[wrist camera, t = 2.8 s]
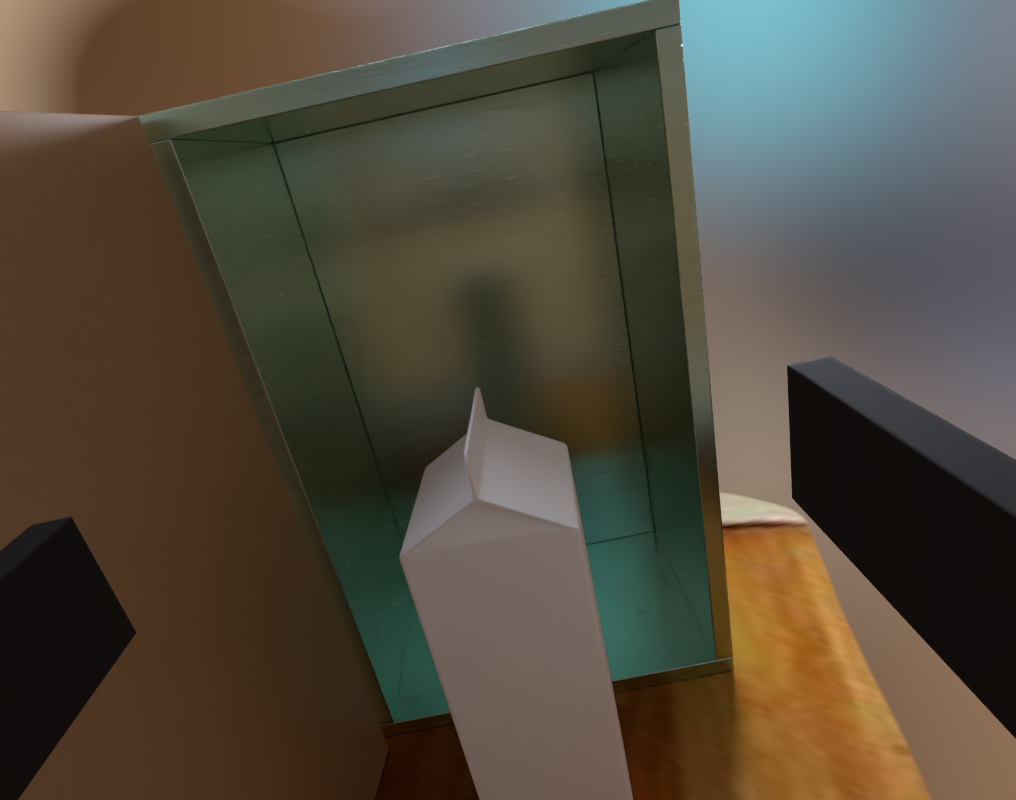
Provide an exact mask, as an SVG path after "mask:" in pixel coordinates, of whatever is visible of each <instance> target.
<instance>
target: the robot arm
mask: <svg viewBox="0 0 1016 800" xmlns="http://www.w3.org/2000/svg"><path fill="white" fill-rule="evenodd" d="M787 373H788V398H789V425H790V451H791V478H792V498H793V499H794V500H795V502H796V503H797V504H798V505H799V506H800V507H801V508H802V509H803V510H804V511H805V512H806V513H807V514H808V516H809V517H810V518H811V519H812V520H813V521H814V522H815V523H816V524H817V525H818V526H819V527H820V528H821V530H822V531H823V532H824V533H825V534H826V535H827V536H828V537H829V538H830V539H831V540H832V541H833V542H834V544H835V545H836V546H837V547H838V548H839V549H840V550H841V551H842V552H843V553H844V554H845V555H846V556H847V558H849V560H850V561H851V562H852V563H853V564H854V565H855V566H856V567H857V568H858V569H859V570H860V572H862V574H863V575H864V576H865V577H866V578H867V579H868V580H869V581H870V582H871V583H872V584H873V585H874V587H875V588H876V589H877V590H878V591H879V592H880V593H881V594H882V595H883V596H884V597H885V598H886V600H887V601H889V603H890V604H891V605H892V606H893V607H894V608H895V609H896V610H897V611H898V612H899V613H900V615H901V616H902V617H903V618H904V619H905V620H906V621H907V622H908V623H909V624H910V625H911V626H912V627H913V629H914V630H915V631H916V632H917V633H918V634H919V635H920V636H921V637H922V638H923V639H924V640H925V641H926V643H927V644H928V645H929V646H930V647H931V648H932V649H933V650H934V651H935V652H936V653H937V654H938V655H939V656H940V658H941V659H942V660H943V661H944V662H945V663H946V664H947V665H948V666H949V667H950V668H951V669H952V671H953V672H954V673H955V674H956V675H957V676H958V677H959V678H960V679H961V680H962V681H963V682H964V683H965V685H966V686H967V687H968V688H969V689H970V690H971V691H972V692H973V693H974V694H975V695H976V696H977V697H978V699H979V700H980V701H981V702H982V703H983V704H984V705H985V706H986V707H987V708H988V709H989V710H990V711H991V713H993V715H994V716H995V717H996V718H997V719H998V720H999V721H1000V722H1001V723H1002V724H1003V725H1004V727H1005V728H1006V729H1007V730H1008V731H1009V732H1010V733H1011V734H1012V735H1013V736H1014V737H1015V738H1016V460H1015V459H1013V458H1012V457H1010V456H1008V455H1006V454H1004V453H1003V452H1001V451H999V450H997V449H996V448H994V447H992V446H990V445H988V444H987V443H985V442H983V441H981V440H979V439H978V438H976V437H974V436H972V435H970V434H969V433H967V432H965V431H963V430H962V429H960V428H958V427H956V426H954V425H953V424H951V423H949V422H947V421H946V420H944V419H942V418H940V417H939V416H937V415H935V414H933V413H931V412H929V411H928V410H926V409H924V408H923V407H921V406H919V405H917V404H915V403H914V402H912V401H910V400H908V399H906V398H905V397H903V396H901V395H899V394H898V393H896V392H894V391H892V390H890V389H889V388H887V387H885V386H883V385H882V384H880V383H878V382H876V381H874V380H873V379H871V378H869V377H867V376H865V375H864V374H862V373H860V372H858V371H856V370H855V369H853V368H851V367H849V366H848V365H846V364H844V363H842V362H840V361H839V360H837V359H835V358H833V357H832V356H828V357H823V358H819V359H813V360H809V361H804V362H799V363H795V364H790V365H787ZM135 634H136V631H135V629H134V627H133V625H132V624H131V622H130V620H129V618H128V616H127V615H126V613H125V611H124V609H123V608H122V606H121V604H120V602H119V600H118V599H117V597H116V595H115V593H114V591H113V590H112V588H111V586H110V584H109V583H108V581H107V579H106V577H105V575H104V574H103V572H102V570H101V568H100V567H99V565H98V563H97V561H96V559H95V558H94V556H93V554H92V552H91V550H90V549H89V547H88V545H87V543H86V542H85V540H84V538H83V536H82V534H81V533H80V531H79V529H78V527H77V525H76V524H75V522H74V520H73V518H72V517H67V518H62V519H58V520H53V521H48V522H44V523H39V524H34V525H31V526H30V527H28V528H27V529H26V530H25V531H24V532H22V533H21V534H20V535H19V536H18V537H16V538H15V539H14V540H13V541H12V542H10V543H9V544H8V545H7V546H6V547H4V548H3V549H2V550H1V551H0V800H18V799H19V798H20V796H21V795H22V794H23V792H24V791H25V789H26V788H27V786H28V785H29V784H30V782H31V781H32V779H33V778H34V777H35V775H36V774H37V772H38V771H39V770H40V768H41V767H42V765H43V764H44V762H45V761H46V760H47V758H48V757H49V755H50V754H51V753H52V751H53V750H54V748H55V747H56V746H57V744H58V743H59V741H60V740H61V739H62V737H63V736H64V734H65V733H66V731H67V730H68V729H69V727H70V726H71V724H72V723H73V722H74V720H75V719H76V717H77V716H78V715H79V713H80V712H81V710H82V709H83V707H84V706H85V705H86V703H87V702H88V700H89V699H90V698H91V696H92V695H93V693H94V692H95V691H96V689H97V688H98V686H99V685H100V684H101V682H102V681H103V679H104V678H105V676H106V675H107V674H108V672H109V671H110V669H111V668H112V667H113V665H114V664H115V662H116V661H117V660H118V658H119V657H120V655H121V654H122V652H123V651H124V650H125V648H126V647H127V645H128V644H129V643H130V641H131V640H132V638H133V637H134V636H135Z"/></svg>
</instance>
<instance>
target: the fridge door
mask: <svg viewBox="0 0 1016 800" xmlns="http://www.w3.org/2000/svg"><path fill="white" fill-rule="evenodd" d="M67 517H72V518H73V520H74V522H75V524H76V525H77V527H78V529H79V531H80V533H81V534H82V536H83V538H84V540H85V542H86V543H87V545H88V547H89V549H90V550H91V552H92V554H93V556H94V558H95V559H96V561H97V563H98V565H99V567H100V568H101V570H102V572H103V574H104V575H105V577H106V579H107V581H108V583H109V584H110V586H111V588H112V590H113V591H114V593H115V595H116V597H117V599H118V600H119V602H120V604H121V606H122V608H123V609H124V611H125V613H126V615H127V616H128V618H129V620H130V622H131V624H132V625H133V627H134V629H135V631H136V634H135V636H134V637H133V638H132V640H131V641H130V643H129V644H128V645H127V647H126V648H125V650H124V651H123V652H122V654H121V655H120V657H119V658H118V660H117V661H116V662H115V664H114V665H113V667H112V668H111V669H110V671H109V672H108V674H107V675H106V676H105V678H104V679H103V681H102V682H101V684H100V685H99V686H98V688H97V689H96V691H95V692H94V693H93V695H92V696H91V698H90V699H89V700H88V702H87V703H86V705H85V706H84V707H83V709H82V710H81V712H80V713H79V715H78V716H77V717H76V719H75V720H74V722H73V723H72V724H71V726H70V727H69V729H68V730H67V731H66V733H65V734H64V736H63V737H62V739H61V740H60V741H59V743H58V744H57V746H56V747H55V748H54V750H53V751H52V753H51V754H50V755H49V757H48V758H47V760H46V761H45V762H44V764H43V765H42V767H41V768H40V770H39V771H38V772H37V774H36V775H35V777H34V778H33V779H32V781H31V782H30V784H29V785H28V786H27V788H26V789H25V791H24V792H23V794H22V795H21V796H20V798H19V799H18V800H375V797H376V793H377V790H378V786H379V782H380V779H381V775H382V771H383V768H384V764H385V760H386V757H387V753H388V750H389V748H388V746H387V743H386V741H385V738H384V736H383V733H382V731H381V728H380V726H379V723H378V721H377V718H376V716H375V713H374V710H373V708H372V705H371V703H370V700H369V698H368V695H367V693H366V690H365V688H364V685H363V683H362V680H361V678H360V675H359V673H358V670H357V668H356V665H355V662H354V660H353V657H352V655H351V652H350V650H349V647H348V645H347V642H346V640H345V637H344V635H343V632H342V630H341V627H340V625H339V622H338V620H337V617H336V614H335V612H334V609H333V607H332V604H331V602H330V599H329V597H328V594H327V592H326V589H325V587H324V584H323V582H322V579H321V577H320V574H319V572H318V569H317V566H316V564H315V561H314V559H313V556H312V554H311V551H310V549H309V546H308V544H307V541H306V539H305V536H304V534H303V531H302V529H301V526H300V523H299V521H298V518H297V516H296V513H295V511H294V508H293V506H292V503H291V501H290V498H289V496H288V493H287V491H286V488H285V486H284V483H283V481H282V478H281V475H280V473H279V470H278V468H277V465H276V463H275V460H274V458H273V455H272V453H271V450H270V448H269V445H268V443H267V440H266V438H265V435H264V433H263V430H262V427H261V425H260V422H259V420H258V417H257V415H256V412H255V410H254V407H253V405H252V402H251V400H250V397H249V395H248V392H247V390H246V387H245V385H244V382H243V379H242V377H241V374H240V372H239V369H238V367H237V364H236V362H235V359H234V357H233V354H232V352H231V349H230V347H229V344H228V342H227V339H226V337H225V334H224V331H223V329H222V326H221V324H220V321H219V319H218V316H217V314H216V311H215V309H214V306H213V304H212V301H211V299H210V296H209V294H208V291H207V289H206V286H205V283H204V281H203V278H202V276H201V273H200V271H199V268H198V266H197V263H196V261H195V258H194V256H193V253H192V251H191V248H190V246H189V243H188V241H187V238H186V235H185V233H184V230H183V228H182V225H181V223H180V220H179V218H178V215H177V213H176V210H175V208H174V205H173V203H172V200H171V198H170V195H169V192H168V190H167V187H166V185H165V182H164V180H163V177H162V175H161V172H160V170H159V167H158V165H157V162H156V160H155V157H154V155H153V152H152V150H151V147H150V144H149V142H148V139H147V137H146V134H145V132H144V129H143V127H142V124H141V122H140V119H139V117H138V116H118V115H92V114H69V113H44V112H18V111H0V551H1V550H2V549H3V548H4V547H6V546H7V545H8V544H9V543H10V542H12V541H13V540H14V539H15V538H16V537H18V536H19V535H20V534H21V533H22V532H24V531H25V530H26V529H27V528H28V527H30V526H31V525H34V524H39V523H44V522H48V521H53V520H58V519H62V518H67Z"/></svg>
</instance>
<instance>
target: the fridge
mask: <svg viewBox="0 0 1016 800" xmlns="http://www.w3.org/2000/svg"><path fill="white" fill-rule="evenodd" d="M679 24H680V9H679V0H647V1H643V2H639V3H634V4H630V5H625V6H621V7H617V8H612V9H608V10H604V11H599V12H595V13H590V14H586V15H581V16H577V17H573V18H568V19H564V20H560V21H555V22H550V23H546V24H542V25H537V26H533V27H528V28H524V29H519V30H515V31H511V32H506V33H502V34H497V35H494V36H489V37H485V38H480V39H476V40H471V41H466V42H462V43H458V44H453V45H449V46H444V47H440V48H436V49H431V50H427V51H422V52H418V53H414V54H409V55H405V56H400V57H396V58H392V59H387V60H383V61H378V62H374V63H369V64H365V65H360V66H356V67H352V68H348V69H343V70H338V71H334V72H330V73H325V74H321V75H317V76H312V77H307V78H303V79H299V80H294V81H290V82H285V83H281V84H277V85H272V86H268V87H264V88H259V89H255V90H250V91H246V92H241V93H237V94H232V95H228V96H224V97H219V98H215V99H210V100H206V101H202V102H197V103H193V104H188V105H184V106H180V107H176V108H171V109H167V110H162V111H158V112H153V113H149V114H144V115H140V116H138V117H139V119H140V122H141V124H142V127H143V129H144V132H145V134H146V137H147V139H148V142H149V144H150V147H151V150H152V152H153V155H154V157H155V160H156V162H157V165H158V167H159V170H160V172H161V175H162V177H163V180H164V182H165V185H166V187H167V190H168V192H169V195H170V198H171V200H172V203H173V205H174V208H175V210H176V213H177V215H178V218H179V220H180V223H181V225H182V228H183V230H184V233H185V235H186V238H187V241H188V243H189V246H190V248H191V251H192V253H193V256H194V258H195V261H196V263H197V266H198V268H199V271H200V273H201V276H202V278H203V281H204V283H205V286H206V289H207V291H208V294H209V296H210V299H211V301H212V304H213V306H214V309H215V311H216V314H217V316H218V319H219V321H220V324H221V326H222V329H223V331H224V334H225V337H226V339H227V342H228V344H229V347H230V349H231V352H232V354H233V357H234V359H235V362H236V364H237V367H238V369H239V372H240V374H241V377H242V379H243V382H244V385H245V387H246V390H247V392H248V395H249V397H250V400H251V402H252V405H253V407H254V410H255V412H256V415H257V417H258V420H259V422H260V425H261V427H262V430H263V433H264V435H265V438H266V440H267V443H268V445H269V448H270V450H271V453H272V455H273V458H274V460H275V463H276V465H277V468H278V470H279V473H280V475H281V478H282V481H283V483H284V486H285V488H286V491H287V493H288V496H289V498H290V501H291V503H292V506H293V508H294V511H295V513H296V516H297V518H298V521H299V523H300V526H301V529H302V531H303V534H304V536H305V539H306V541H307V544H308V546H309V549H310V551H311V554H312V556H313V559H314V561H315V564H316V566H317V569H318V572H319V574H320V577H321V579H322V582H323V584H324V587H325V589H326V592H327V594H328V597H329V599H330V602H331V604H332V607H333V609H334V612H335V614H336V617H337V620H338V622H339V625H340V627H341V630H342V632H343V635H344V637H345V640H346V642H347V645H348V647H349V650H350V652H351V655H352V657H353V660H354V662H355V665H356V668H357V670H358V673H359V675H360V678H361V680H362V683H363V685H364V688H365V690H366V693H367V695H368V698H369V700H370V703H371V705H372V708H373V710H374V713H375V716H376V718H377V721H378V723H379V726H380V728H381V731H382V733H383V736H384V737H388V736H393V735H398V734H404V733H409V732H414V731H419V730H424V729H430V728H435V727H440V726H445V725H450V724H454V722H453V719H452V716H451V713H450V710H449V707H448V704H447V701H446V698H445V695H444V692H443V689H442V686H441V683H440V680H439V677H438V674H437V671H436V668H435V665H434V662H433V659H432V656H431V653H430V650H429V647H428V644H427V641H426V638H425V635H424V632H423V629H422V626H421V623H420V620H419V616H418V613H417V610H416V607H415V604H414V601H413V598H412V595H411V592H410V589H409V586H408V583H407V580H406V577H405V574H404V571H403V568H402V565H401V562H400V558H399V556H400V552H401V549H402V546H403V542H404V539H405V535H406V532H407V529H408V525H409V522H410V518H411V515H412V511H413V508H414V505H415V501H416V498H417V494H418V491H419V488H420V484H421V481H422V477H423V474H424V471H425V468H426V467H427V466H428V465H429V464H431V463H432V462H433V461H434V460H435V459H437V458H438V457H439V456H440V455H442V454H443V453H444V452H445V451H446V450H448V449H449V448H450V447H451V446H452V445H454V444H455V443H456V442H457V441H459V440H460V439H461V438H462V437H463V436H465V435H466V434H467V432H468V427H469V421H470V416H471V410H472V405H473V399H474V394H475V389H476V387H479V389H480V392H481V395H482V399H483V404H484V408H485V412H486V415H487V418H488V419H490V420H493V421H496V422H499V423H503V424H506V425H509V426H512V427H515V428H518V429H522V430H525V431H528V432H531V433H534V434H537V435H540V436H544V437H547V438H550V439H553V440H556V441H559V442H562V443H565V444H566V445H567V448H568V453H569V458H570V463H571V469H572V474H573V479H574V484H575V490H576V495H577V500H578V506H579V511H580V516H581V522H582V527H583V532H584V538H585V543H586V548H587V554H588V559H589V564H590V569H591V575H592V580H593V585H594V591H595V596H596V601H597V607H598V612H599V617H600V623H601V628H602V633H603V639H604V644H605V649H606V654H607V660H608V665H609V670H610V676H611V681H612V686H613V692H614V693H617V692H622V691H627V690H632V689H637V688H643V687H648V686H653V685H658V684H663V683H669V682H674V681H679V680H684V679H689V678H695V677H700V676H705V675H710V674H715V673H721V672H726V671H731V670H734V664H733V652H732V640H731V628H730V616H729V604H728V592H727V580H726V567H725V555H724V543H723V531H722V519H721V507H720V495H719V483H718V471H717V459H716V448H715V434H714V422H713V411H712V398H711V386H710V374H709V362H708V349H707V338H706V326H705V315H704V314H705V313H704V301H703V289H702V277H701V265H700V252H699V241H698V228H697V216H696V204H695V192H694V180H693V168H692V156H691V144H690V132H689V120H688V108H687V95H686V84H685V71H684V59H683V47H682V35H681V26H680V25H679Z"/></svg>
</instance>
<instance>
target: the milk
mask: <svg viewBox="0 0 1016 800" xmlns="http://www.w3.org/2000/svg"><path fill="white" fill-rule="evenodd" d="M399 558H400V562H401V565H402V568H403V571H404V574H405V577H406V580H407V583H408V586H409V589H410V592H411V595H412V598H413V601H414V604H415V607H416V610H417V613H418V616H419V620H420V623H421V626H422V629H423V632H424V635H425V638H426V641H427V644H428V647H429V650H430V653H431V656H432V659H433V662H434V665H435V668H436V671H437V674H438V677H439V680H440V683H441V686H442V689H443V692H444V695H445V698H446V701H447V704H448V707H449V710H450V713H451V716H452V719H453V722H454V725H455V728H456V731H457V734H458V737H459V740H460V743H461V746H462V749H463V752H464V755H465V758H466V761H467V764H468V767H469V770H470V773H471V776H472V779H473V782H474V785H475V788H476V791H477V794H478V797H479V800H633V796H632V790H631V784H630V778H629V772H628V767H627V761H626V755H625V750H624V745H623V739H622V734H621V729H620V723H619V718H618V713H617V708H616V702H615V697H614V692H613V686H612V681H611V676H610V670H609V665H608V660H607V654H606V649H605V644H604V639H603V633H602V628H601V623H600V617H599V612H598V607H597V601H596V596H595V591H594V585H593V580H592V575H591V569H590V564H589V559H588V554H587V548H586V543H585V538H584V532H583V527H582V522H581V516H580V511H579V506H578V500H577V495H576V490H575V484H574V479H573V474H572V469H571V463H570V458H569V453H568V448H567V445H566V444H565V443H562V442H559V441H556V440H553V439H550V438H547V437H544V436H540V435H537V434H534V433H531V432H528V431H525V430H522V429H518V428H515V427H512V426H509V425H506V424H503V423H499V422H496V421H493V420H490V419H488V418H487V415H486V412H485V408H484V404H483V399H482V395H481V392H480V389H479V387H476V389H475V394H474V399H473V405H472V410H471V416H470V421H469V427H468V432H467V434H466V435H465V436H463V437H462V438H461V439H460V440H459V441H457V442H456V443H455V444H454V445H452V446H451V447H450V448H449V449H448V450H446V451H445V452H444V453H443V454H442V455H440V456H439V457H438V458H437V459H435V460H434V461H433V462H432V463H431V464H429V465H428V466H427V467H426V468H425V471H424V474H423V477H422V481H421V484H420V488H419V491H418V494H417V498H416V501H415V505H414V508H413V511H412V515H411V518H410V522H409V525H408V529H407V532H406V535H405V539H404V542H403V546H402V549H401V552H400V556H399Z"/></svg>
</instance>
